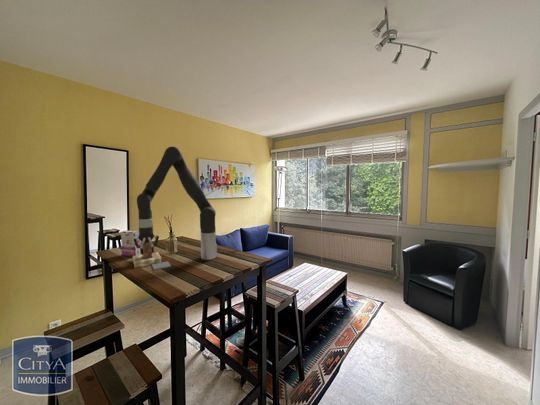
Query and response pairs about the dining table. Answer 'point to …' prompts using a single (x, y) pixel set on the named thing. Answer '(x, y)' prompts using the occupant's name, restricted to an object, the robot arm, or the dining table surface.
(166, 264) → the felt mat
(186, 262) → the dining table surface
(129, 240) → the candy bar box
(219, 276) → the dining table surface
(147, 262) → the pocket frame
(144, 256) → the walnut block
